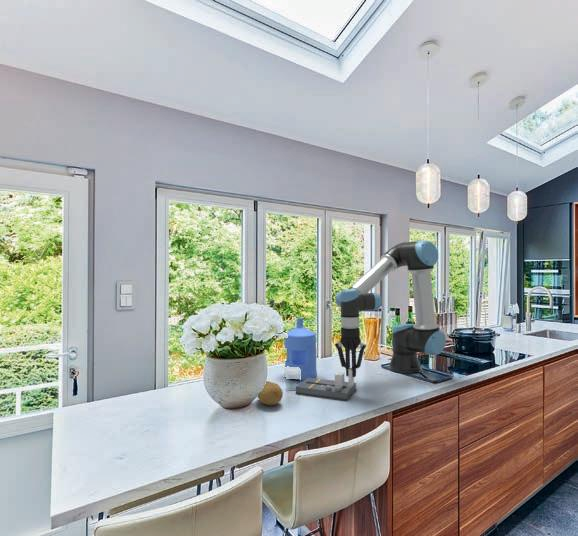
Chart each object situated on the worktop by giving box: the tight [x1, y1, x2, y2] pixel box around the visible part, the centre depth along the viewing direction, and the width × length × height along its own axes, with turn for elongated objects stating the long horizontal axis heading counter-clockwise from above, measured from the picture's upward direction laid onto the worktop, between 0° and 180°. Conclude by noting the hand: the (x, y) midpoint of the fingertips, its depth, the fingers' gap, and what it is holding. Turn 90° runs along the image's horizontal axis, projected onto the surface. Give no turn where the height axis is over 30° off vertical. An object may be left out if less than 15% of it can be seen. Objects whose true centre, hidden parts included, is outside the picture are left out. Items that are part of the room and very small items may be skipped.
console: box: [295, 377, 357, 402], centre depth 153 cm, size 22×14×4 cm, turn 65°
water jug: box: [283, 317, 318, 381], centre depth 176 cm, size 16×16×28 cm
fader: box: [334, 371, 346, 388], centre depth 150 cm, size 3×4×7 cm
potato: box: [256, 380, 284, 406], centre depth 140 cm, size 10×14×8 cm
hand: (351, 384), depth 148 cm, fingers closed
